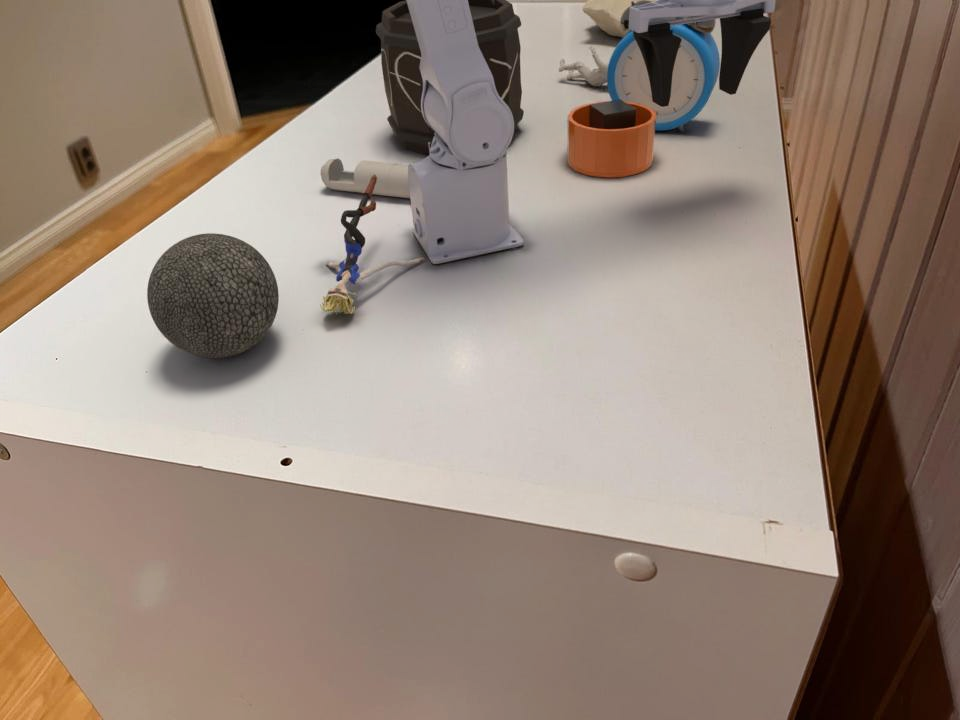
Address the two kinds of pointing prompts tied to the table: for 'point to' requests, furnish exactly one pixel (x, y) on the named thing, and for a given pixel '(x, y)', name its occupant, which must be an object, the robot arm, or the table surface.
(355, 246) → the figurine
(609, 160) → the cup
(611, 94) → the alarm clock
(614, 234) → the table surface
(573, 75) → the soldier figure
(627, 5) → the decorative stone
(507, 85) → the wooden barrel
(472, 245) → the robot arm
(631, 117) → the block
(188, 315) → the decorative ball
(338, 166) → the white notched cylinder
